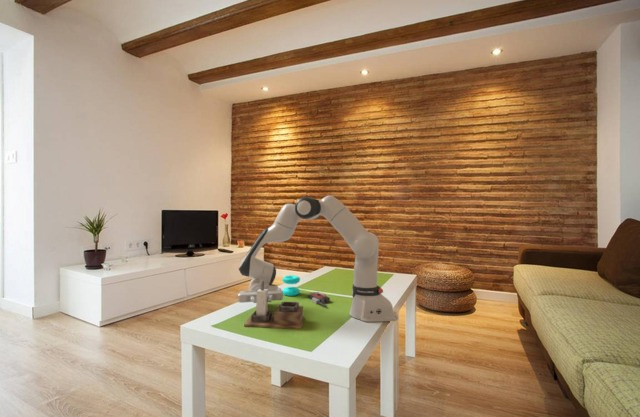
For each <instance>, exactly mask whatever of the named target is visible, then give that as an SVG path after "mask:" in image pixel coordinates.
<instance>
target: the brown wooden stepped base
mask: <svg viewBox="0 0 640 417" xmlns="http://www.w3.org/2000/svg"><path fill="white" fill-rule="evenodd" d="M304 320H305V315H304V305H300V302H297V301H282V302H280V304H278V306H277V307H276V309H274V313H273V311H272V310H268V314H267V315H266V316H256V310H255V311H254V312H253V313H252V314H251V315H250V316H249V317H248V319H246V321H245V322H244V324H243V326H244V327H246V328H247V327H250V328H251V327H252V328H253V327H254V328H268V329H269V328H273V329H274V328H275V329H294V330H301V329H302V326H303V322H304Z"/></svg>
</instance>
